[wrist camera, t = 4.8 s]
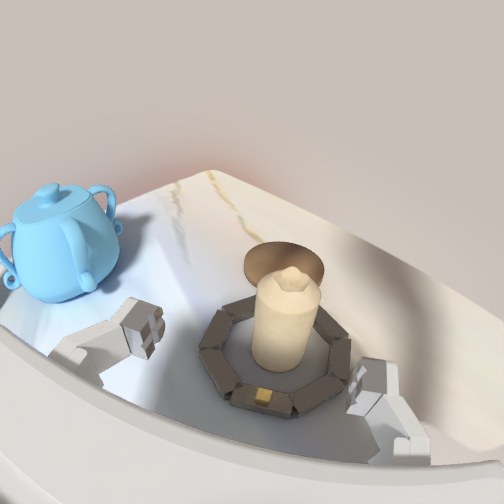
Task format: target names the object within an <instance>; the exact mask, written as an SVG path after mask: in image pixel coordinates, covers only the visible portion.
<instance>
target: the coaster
mask: <svg viewBox="0 0 504 504" xmlns="http://www.w3.org/2000/svg"><path fill="white" fill-rule="evenodd" d="M291 266H293V267H296V268H297V269H298V270H299V271H301V272H302V273H305V274H307V275H308V276H309V277H310V278H311V279H312V280H313V281H314V282H315V283H316V284H317V285H318V287H319V285H320V284H321V282H322V278H323V275H324V265H323V262H322V261H321V259H320V258H319V257H318V256H317V255H316V254H315V253H314V252H312V251H311V250H309V249H307V248H305V247H303V246H300V245H297V244H294V243H289V242H267V243H263V244H260V245H257V246H255V247H253V248H252V249H251V250H250V251H249V252H248V253H247V254H246V256H245V260H244V273H245V276H246V278H247V279H248V281H249V282H250V283H251V284H252V285H253V286H255V287H256V288H257V285H258V283H259V281H260V280H261V279H262V278H263V277H264V276H266V275H268V274H270V273H272V272H275V271H278V270H283V269H286V268H288V267H291Z"/></svg>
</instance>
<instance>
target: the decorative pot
mask: <svg viewBox="0 0 504 504" xmlns="http://www.w3.org/2000/svg"><path fill="white" fill-rule="evenodd" d="M100 192H105V193H106V194H107V197H108V205H107V212H106V214H105V212H104V211H103V209H102V208H101V207H100V205H99V204H98V203H97V201H96V200H95V199H94V198H93V195H95V194H97V193H100ZM115 210H116V196H115V193H114V191H113V190H112V189H111V188H109V187H108V186H105V185H95V186H92V187H90V188H89V189H88V190H85V189H84V188H82V187H80V186H77V185H66V186H61V187H59V184H55V183H54V184H53V183H52V184H48V185H45V186H43V187H41V188H39V189H38V190H37V192H36V193H35V194H34V195H33V197H32V198H31V199H29V200H27V201H25V202H24V203H22V204H21V205H19V206H18V207H17V208H16V210H15V212H14V216H13V222H12V223H8V224H5V225H3V226H2V227H1V228H0V240H1V239H2V237H4V236H5V235H6V234H8V233H10V232H12V233H11V234H12V235H11V248H12V257H13V262H14V265H13V264H12V263H11V262H10V261H9V260H8V259H7V258H6V257H5V255H4V254H3V252H2V251H1V249H0V262H1V263H2V265H3V266H4V267H5V268H6V269H7V270H8V271H7V272H6V273H5V274H4V277H3V281H4V284H5V286H6V287H7V288H8V289H10V290H15V289H18V288H19V287H20V286H21V285H22V286H23V287H24V289H25V290H26V291H27V292H28V293H29V294H30V295H31V296H33V297H34V298H36V299H38V300H40V301H42V302H45V303H62V302H64V301H66V300H67V299H70V298H73V297H75V296H78V295H80V294H82V293H84V292H93V291H94V290H95V289H96V288H97V284H98V283H99V282H101V281H102V280H103V279H104V278H105V277H106V276H107V275H108V274H109V273H110V272H111V271H112V269H113V268H114V266H115V264H116V262H117V259H118V257H119V252H120V247H119V242H118V238H117V237H118V236H119V235H120V234H121V233H122V231H123V225H122V223H121V222H120V220H118V219H114V216H115ZM114 225H117V226H116V228H115V229H114V228H113V226H114ZM12 275H13V276H14V278H15V279H14V280H13V281H9V280H8V278H9V277H10V276H12Z"/></svg>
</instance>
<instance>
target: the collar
mask: <svg viewBox="0 0 504 504" xmlns="http://www.w3.org/2000/svg"><path fill="white" fill-rule="evenodd" d="M255 302H256V295H255V296H252V297H249V298H246V299H243V300H240V301H237V302H234V303H231V304H227V305H224V306H222V311H220V310H217V312H216V314H215V315H214V317H213V319H212V321H211V323H210V325H209V327H208V329H207V331H206V333H205V335H204V337H203V339H202V341H201V342H200V344H199V350H200V351H199V355H200V359H201V361H202V363H203V365H204V367H205V368H206V370H207V372H208V374H209V376H210V377H211V379H212V381H213V383H214V384H215V386H216V388H217V390H218V391H219V393H220V395H221V396H222V398H223V400H226V399H228V398H230V397H231V398H230V405H233V406H236V407H240V408H243V409H247V410H251V411H255V412H259V413H263V414H267V415H272V416H276V417H280V418H285V419H289V417H290V415H291V412H293V414H294V415H295V416H296V418H298V417H300V416H302V415H303V414H305V413H307V412H309V411H310V410H312V409H314V408H316V407H317V406H319V405H321V404H322V403H324V402H326V401H327V400H329V399H331V398H332V397H334V396H335V395H337V394H339V393H340V392H342V390H343V388H344V387H345V385H346V384H347V382H348V380H349V367H350V351H351V339H347V337H348V335H349V334H348V333H347V332H346V331H345V330H344V329H343V328H342V327H341V326H340V325H339V324H338V323H337V322H336V321H335V320H334V319H333V318H332V317H331V316H330V315H329V314H328V313H327V312H326V311H325V310H324V309H323V308H322V307H321V306H320V305H319V307H318V310H317V314H316V317H315V320H314V324H313V328H314V329H315V330H316V331H317V332H318V333H319V334H320V335H321V336H322V337H323V338H324V340H325V341H326V342H327V343H328V344H329V345H330V354H329V362H328V370H327V375H325V376H323V377H322V378H320V379H318V380H316V381H315V382H313V383H311V384H309V385H307V386H305V387H304V388H302V389H300V390H298V391H296V392H294V393H292V394H287V393H282V392H278V391H274V390H269V389H265V388H261V387H257V386H253V385H249V384H245V383H242V382H241V381H240V379H239V378H238V376H237V375H236V373H235V372H234V370H233V369H232V367H231V365H230V364H229V362H228V361H227V359H226V358H225V356H224V354H223V353H222V351H221V350H222V348H223V346H224V344H225V342H226V339H227V337H228V335H229V333H230V330H231V328H232V326H233V324H235V323H238V322H241V321H243V320H246V319H249V318H252V317H254V312H255Z"/></svg>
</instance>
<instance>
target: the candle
mask: <svg viewBox="0 0 504 504" xmlns="http://www.w3.org/2000/svg"><path fill="white" fill-rule="evenodd" d="M320 300H321V292H320V289H319V287H318V285H317V284H316V283H315V282H314V281H313V280H312V279H311V278H310V277H309V276H308V275H307V274H305V273H302V272H301V271H299V270H298V269H297V268H296V267H293V266H291V267H288V268H286V269H283V270H278V271H275V272H272V273H270V274H268V275H266V276H264V277H263V278H262V279H261V280H260V281H259V283H258V285H257V292H256V302H255V312H254V322H253V332H252V342H251V352H252V356H253V358H254V360H255V362H256V363H257V364H258V365H259V366H261V367H262V368H264V369H266V370H269V371H272V372H286V371H289V370H292V369H294V368H295V367H296V366H297V365H298V364H299V363H300V362H301V360H302V358H303V356H304V353H305V350H306V347H307V343H308V340H309V337H310V334H311V330H312V327H313V324H314V320H315V317H316V314H317V310H318V307H319V303H320Z"/></svg>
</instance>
